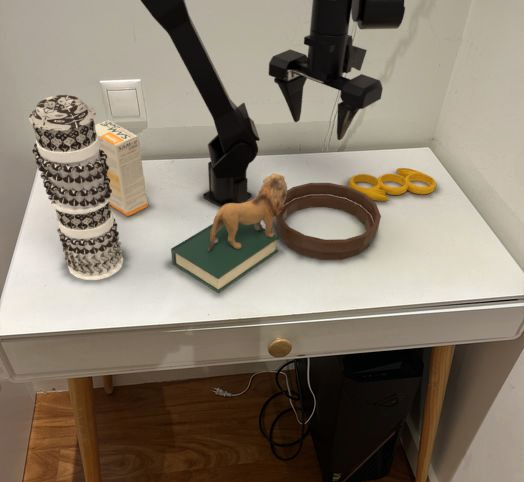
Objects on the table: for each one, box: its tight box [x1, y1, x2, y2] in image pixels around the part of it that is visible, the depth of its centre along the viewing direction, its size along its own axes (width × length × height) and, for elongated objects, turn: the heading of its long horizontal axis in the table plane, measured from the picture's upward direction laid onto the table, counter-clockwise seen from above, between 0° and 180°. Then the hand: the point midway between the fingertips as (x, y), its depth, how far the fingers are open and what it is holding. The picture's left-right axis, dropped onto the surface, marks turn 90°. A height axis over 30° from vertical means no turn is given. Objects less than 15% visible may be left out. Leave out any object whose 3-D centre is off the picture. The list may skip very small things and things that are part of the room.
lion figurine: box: [208, 173, 288, 251], centre depth 86 cm, size 15×5×9 cm, turn 129°
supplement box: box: [95, 119, 149, 217], centre depth 95 cm, size 8×5×13 cm, turn 47°
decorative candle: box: [28, 94, 124, 281], centre depth 79 cm, size 9×9×25 cm
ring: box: [273, 182, 382, 261], centre depth 95 cm, size 17×17×4 cm
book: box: [170, 223, 280, 294], centre depth 89 cm, size 10×14×3 cm
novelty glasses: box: [348, 167, 437, 202], centre depth 106 cm, size 17×2×10 cm
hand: (318, 130), depth 96 cm, fingers open, 9 cm apart
